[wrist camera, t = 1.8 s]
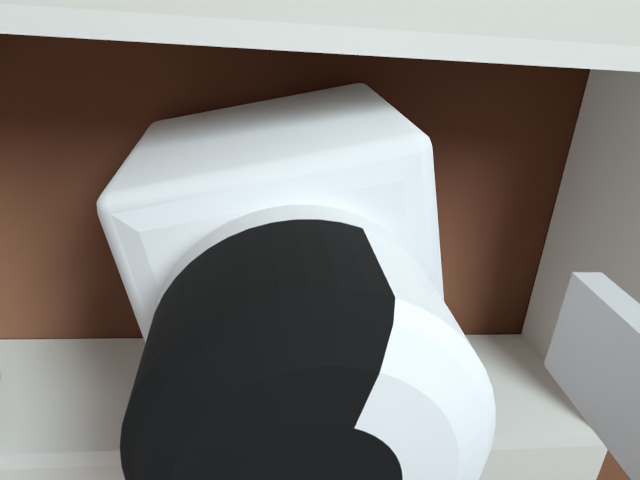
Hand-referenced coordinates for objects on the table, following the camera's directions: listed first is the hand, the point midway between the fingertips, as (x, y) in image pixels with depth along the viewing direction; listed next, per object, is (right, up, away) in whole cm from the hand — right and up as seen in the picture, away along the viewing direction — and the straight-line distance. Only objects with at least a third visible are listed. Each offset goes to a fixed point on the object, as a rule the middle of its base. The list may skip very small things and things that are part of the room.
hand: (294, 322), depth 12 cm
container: (-1, +3, +8) cm, 9 cm away
